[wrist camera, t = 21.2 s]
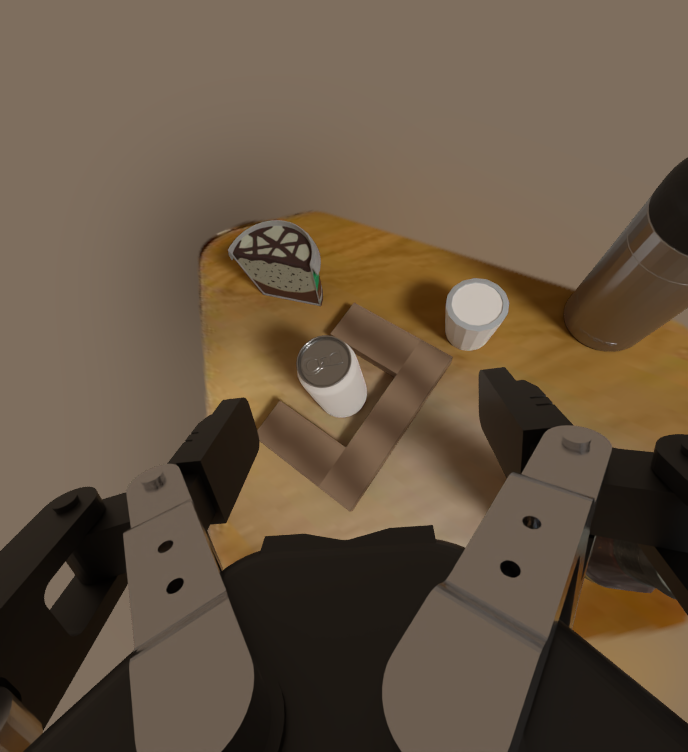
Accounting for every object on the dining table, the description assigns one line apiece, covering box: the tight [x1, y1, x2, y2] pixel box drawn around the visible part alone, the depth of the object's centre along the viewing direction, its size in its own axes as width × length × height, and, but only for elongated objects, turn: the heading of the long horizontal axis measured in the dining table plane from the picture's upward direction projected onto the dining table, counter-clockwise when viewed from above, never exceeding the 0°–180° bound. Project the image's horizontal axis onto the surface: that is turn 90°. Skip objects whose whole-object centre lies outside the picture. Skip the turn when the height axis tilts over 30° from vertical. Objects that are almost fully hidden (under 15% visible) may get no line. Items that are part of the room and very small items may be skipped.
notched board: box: [257, 303, 453, 511], centre depth 46 cm, size 22×15×2 cm
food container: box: [228, 220, 323, 306], centre depth 50 cm, size 12×6×10 cm, turn 73°
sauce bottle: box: [585, 536, 676, 599], centre depth 29 cm, size 7×6×20 cm
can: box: [296, 335, 367, 417], centre depth 42 cm, size 6×6×12 cm
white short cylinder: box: [445, 278, 509, 351], centre depth 44 cm, size 7×7×7 cm
